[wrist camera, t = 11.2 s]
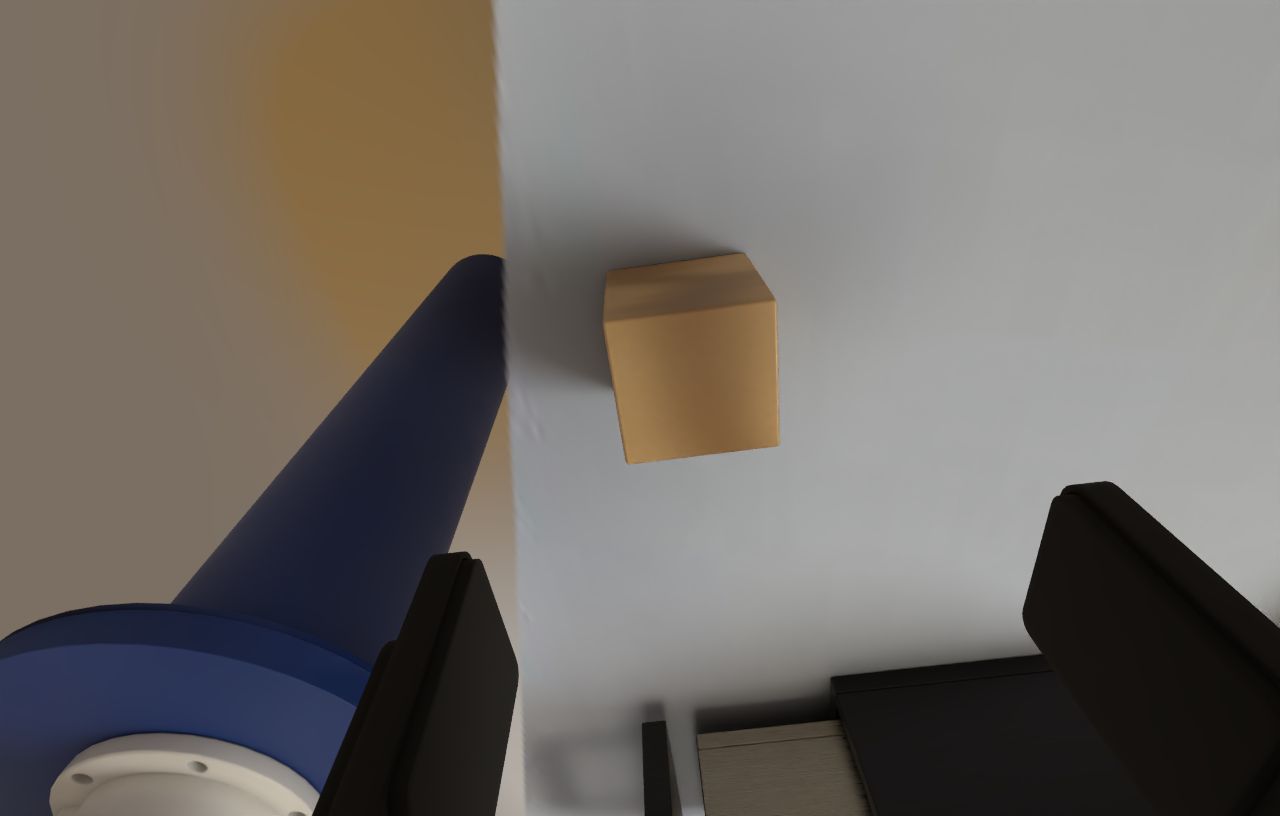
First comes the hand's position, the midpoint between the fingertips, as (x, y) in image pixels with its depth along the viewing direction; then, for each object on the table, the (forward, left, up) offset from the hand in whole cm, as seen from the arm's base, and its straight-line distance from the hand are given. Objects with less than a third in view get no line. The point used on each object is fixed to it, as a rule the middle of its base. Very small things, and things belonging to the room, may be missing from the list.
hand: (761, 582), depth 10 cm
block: (0, 0, -12) cm, 12 cm away
